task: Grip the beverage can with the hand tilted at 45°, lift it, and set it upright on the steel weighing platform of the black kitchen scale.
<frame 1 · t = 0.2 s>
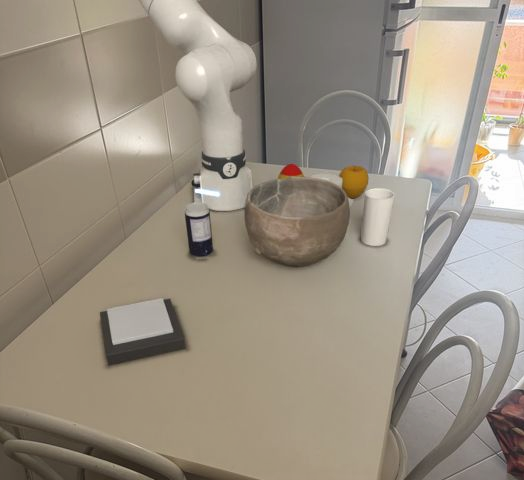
apple: (351, 197, 143), on the table
bowl: (294, 255, 117), on the table
toilet tissue: (326, 212, 135), on the table
scale: (142, 334, 94), on the table
decorative egg: (290, 199, 143), on the table
beverage can: (201, 254, 118), on the table
mug: (374, 238, 123), on the table
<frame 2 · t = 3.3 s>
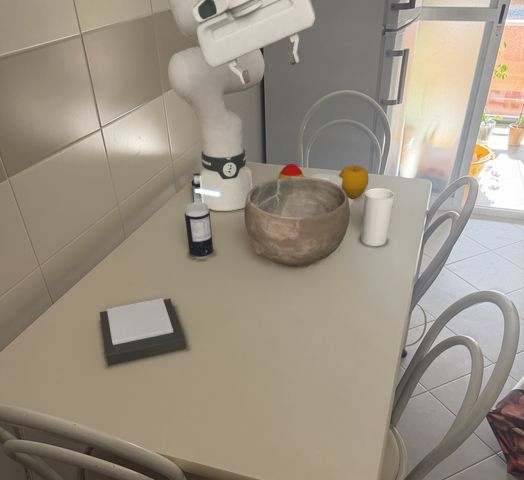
hand: (270, 72, 89), 39 cm above the table, tool tilted 20°, fingers open, 8 cm apart
nothing on the table moved.
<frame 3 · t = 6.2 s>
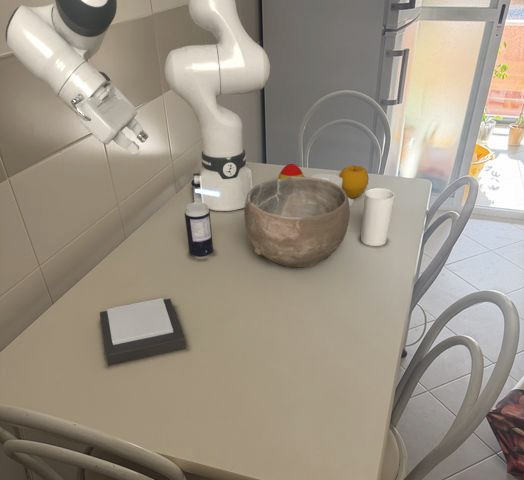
hand: (141, 145, 102), 26 cm above the table, tool tilted 45°, fingers open, 8 cm apart
nothing on the table moved.
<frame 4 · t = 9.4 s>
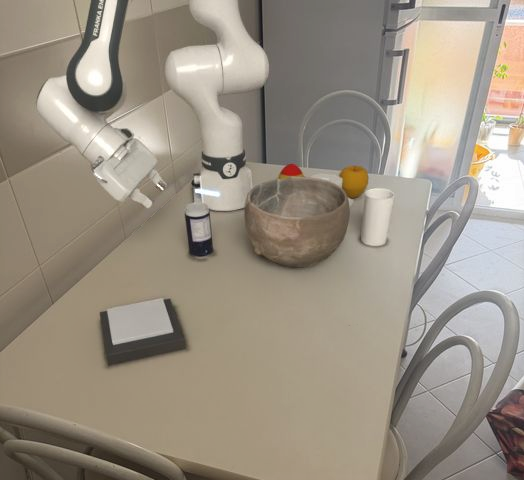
hand: (158, 196, 110), 14 cm above the table, tool tilted 45°, fingers open, 8 cm apart
nothing on the table moved.
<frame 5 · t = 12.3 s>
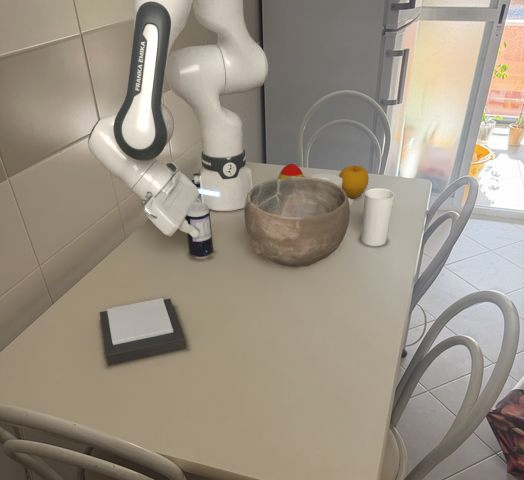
hand: (201, 227, 114), 7 cm above the table, tool tilted 45°, fingers closed on beverage can, 5 cm apart
beverage can: (201, 254, 118), on the table, touching gripper
everything else where it was.
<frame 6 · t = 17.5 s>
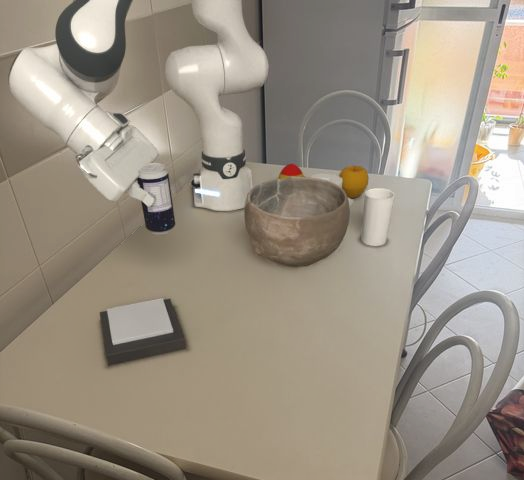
hand: (159, 195, 91), 22 cm above the table, tool tilted 45°, fingers closed on beverage can, 5 cm apart
beverage can: (161, 230, 95), point 15 cm above the table, touching gripper
everything else where it was.
when the fingers open (10 cm above the table, at t = 22.9 s): beverage can stays where it is, resting on scale.
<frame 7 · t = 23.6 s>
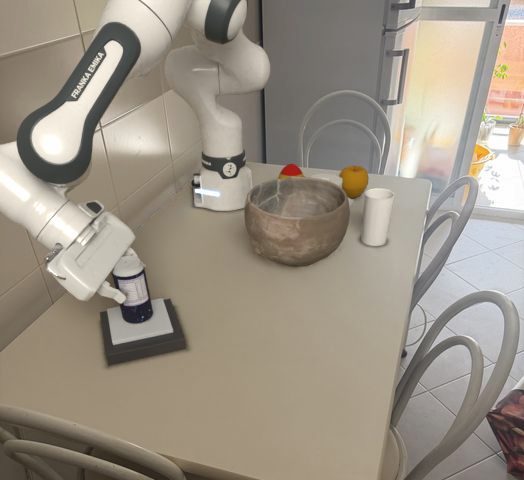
hand: (134, 284, 88), 11 cm above the table, tool tilted 45°, fingers open, 8 cm apart
beverage can: (138, 319, 93), point 3 cm above the table, touching scale
everything else where it was.
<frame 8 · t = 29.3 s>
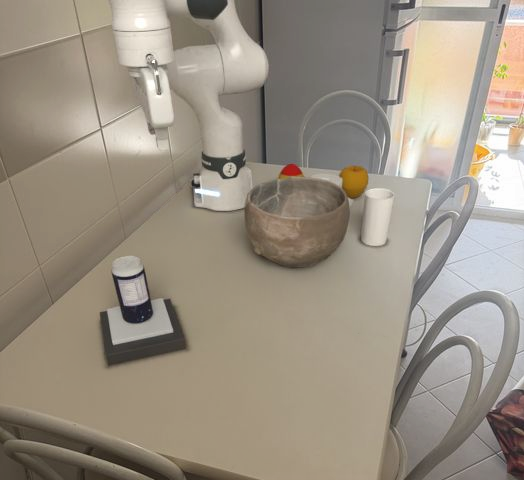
hand: (158, 140, 86), 31 cm above the table, tool pointing down, fingers open, 8 cm apart
nothing on the table moved.
at the end: beverage can inside the target area on the scale (0.0 cm from its centre), point 3.0 cm above the scale's base; beverage can tilted 0°; the gripper is holding nothing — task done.
